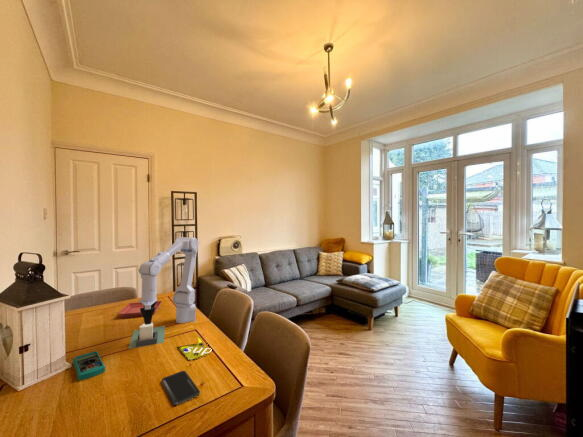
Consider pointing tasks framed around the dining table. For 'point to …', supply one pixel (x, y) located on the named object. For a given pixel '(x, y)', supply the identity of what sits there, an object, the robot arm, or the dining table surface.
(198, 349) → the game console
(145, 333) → the keyed plug
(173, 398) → the phone
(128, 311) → the plant saucer
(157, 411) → the dining table surface
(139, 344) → the board
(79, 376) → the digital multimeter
